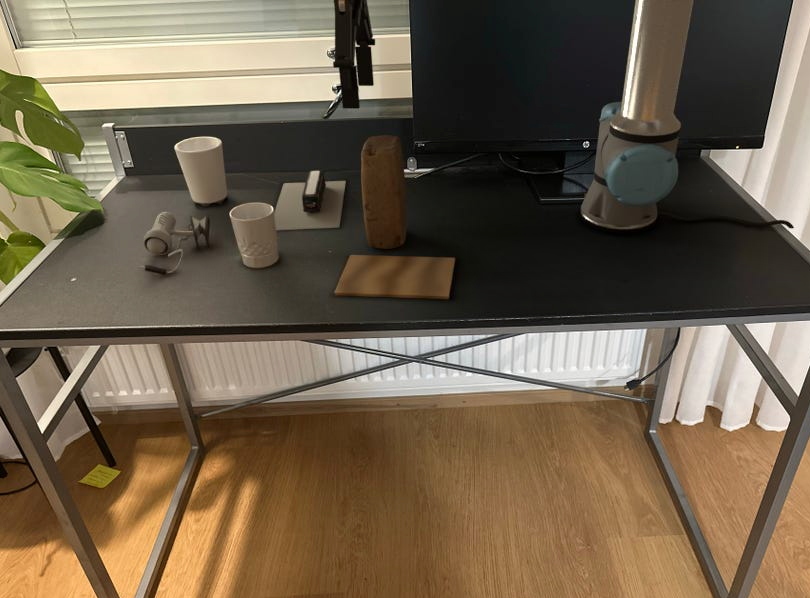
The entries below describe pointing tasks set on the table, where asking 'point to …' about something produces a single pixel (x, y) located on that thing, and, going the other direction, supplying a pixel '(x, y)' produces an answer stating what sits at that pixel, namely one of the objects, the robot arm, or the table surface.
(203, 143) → the cup
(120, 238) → the table surface
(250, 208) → the white cup
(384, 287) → the cork mat
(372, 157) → the block
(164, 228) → the clip-on lamp
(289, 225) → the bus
